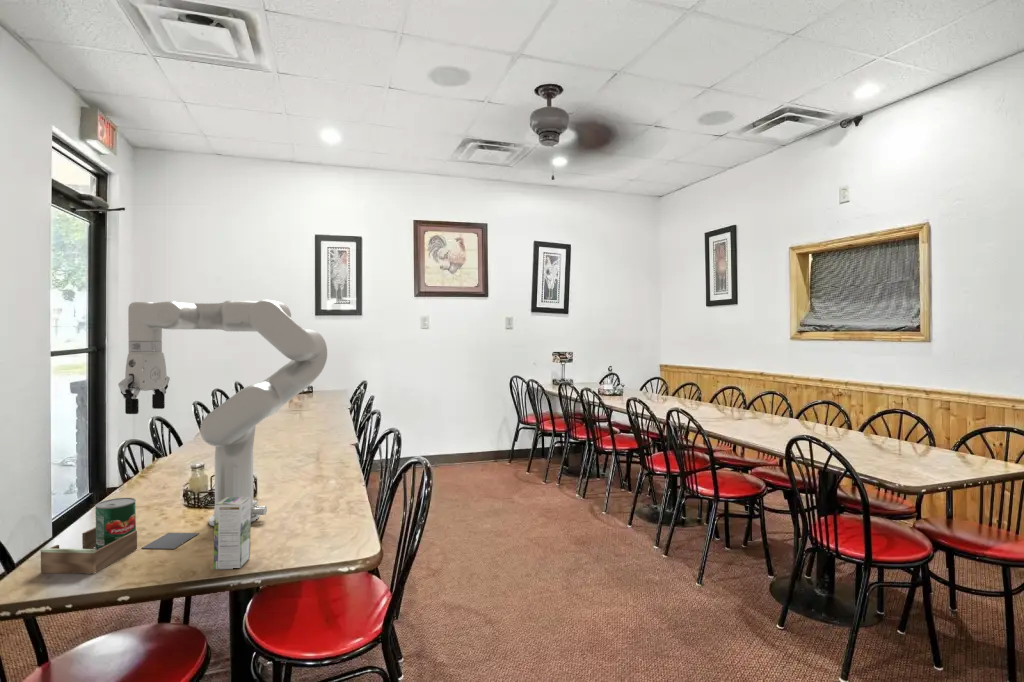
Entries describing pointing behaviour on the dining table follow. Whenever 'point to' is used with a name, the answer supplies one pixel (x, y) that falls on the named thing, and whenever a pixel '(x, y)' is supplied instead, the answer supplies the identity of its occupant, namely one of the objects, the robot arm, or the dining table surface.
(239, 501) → the syrup box
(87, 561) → the corral
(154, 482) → the dining table surface
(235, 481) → the robot arm
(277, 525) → the dining table surface
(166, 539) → the mats
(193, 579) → the dining table surface
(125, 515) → the canned tomato
